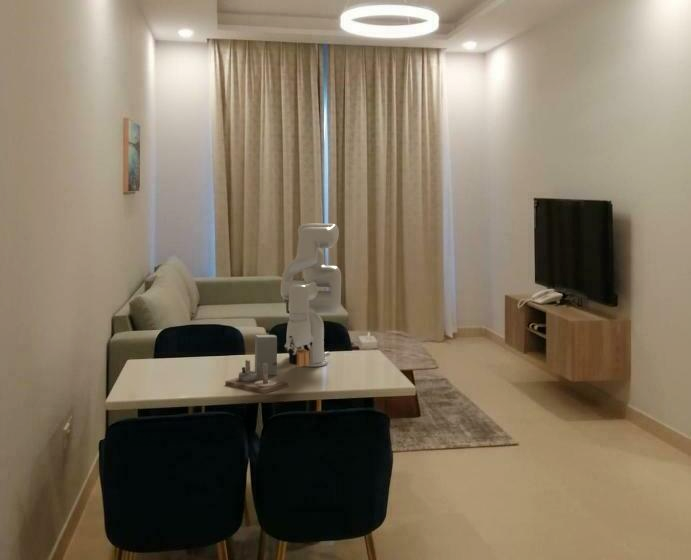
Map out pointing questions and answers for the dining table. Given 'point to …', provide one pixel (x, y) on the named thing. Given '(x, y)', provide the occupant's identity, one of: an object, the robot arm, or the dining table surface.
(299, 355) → the loose gear
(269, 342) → the skincare box
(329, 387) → the dining table surface
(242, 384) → the gear board
